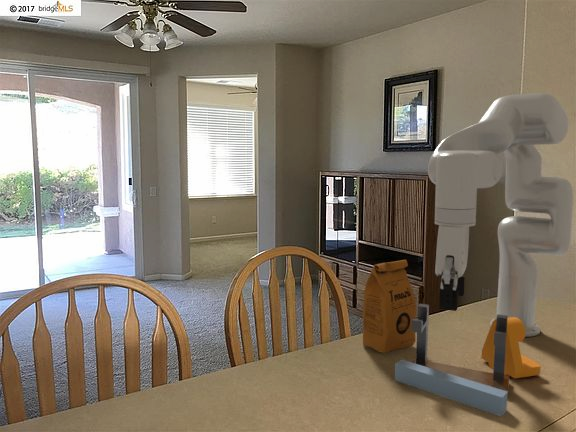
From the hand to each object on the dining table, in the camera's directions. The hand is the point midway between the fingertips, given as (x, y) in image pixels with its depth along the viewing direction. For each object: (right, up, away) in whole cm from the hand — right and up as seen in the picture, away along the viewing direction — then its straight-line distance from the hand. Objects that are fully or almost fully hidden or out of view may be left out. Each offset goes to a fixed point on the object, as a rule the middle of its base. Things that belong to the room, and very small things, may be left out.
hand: (452, 301), depth 95 cm
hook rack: (+4, -18, +8) cm, 20 cm away
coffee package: (-7, -16, +26) cm, 32 cm away
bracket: (+18, -18, +14) cm, 29 cm away
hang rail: (0, -19, +2) cm, 20 cm away
